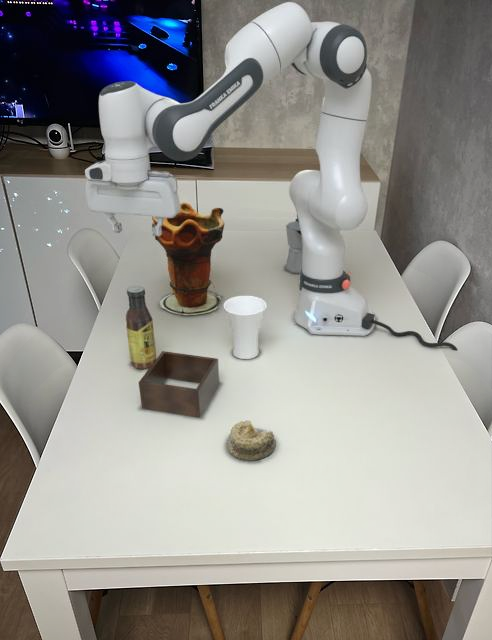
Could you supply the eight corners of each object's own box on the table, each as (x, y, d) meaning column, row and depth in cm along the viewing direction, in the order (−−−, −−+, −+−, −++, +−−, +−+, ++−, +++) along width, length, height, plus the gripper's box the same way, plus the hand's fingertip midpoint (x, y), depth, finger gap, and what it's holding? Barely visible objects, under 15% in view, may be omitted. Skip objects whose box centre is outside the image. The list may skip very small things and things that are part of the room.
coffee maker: (312, 276, 195) (315, 221, 185) (285, 276, 195) (286, 221, 185) (310, 258, 207) (313, 205, 197) (284, 258, 207) (286, 205, 197)
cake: (259, 469, 119) (257, 449, 116) (217, 452, 124) (214, 432, 121) (285, 439, 126) (284, 419, 123) (244, 424, 130) (243, 404, 127)
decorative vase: (235, 288, 187) (233, 196, 171) (217, 323, 168) (212, 224, 152) (170, 282, 190) (162, 192, 174) (144, 316, 171) (133, 218, 155)
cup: (273, 347, 157) (273, 300, 150) (255, 367, 149) (254, 318, 142) (237, 339, 161) (235, 292, 153) (217, 357, 153) (215, 309, 146)
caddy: (219, 384, 143) (218, 358, 139) (200, 417, 132) (198, 391, 128) (165, 376, 146) (162, 350, 142) (141, 408, 135) (138, 382, 131)
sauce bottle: (151, 371, 147) (142, 296, 136) (127, 368, 148) (116, 294, 137) (161, 357, 153) (153, 284, 142) (137, 355, 154) (127, 282, 143)
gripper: (181, 168, 127) (186, 232, 135) (91, 162, 131) (101, 225, 139) (170, 176, 122) (176, 242, 130) (77, 170, 126) (88, 234, 134)
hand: (137, 233), depth 134 cm, fingers open, 8 cm apart
